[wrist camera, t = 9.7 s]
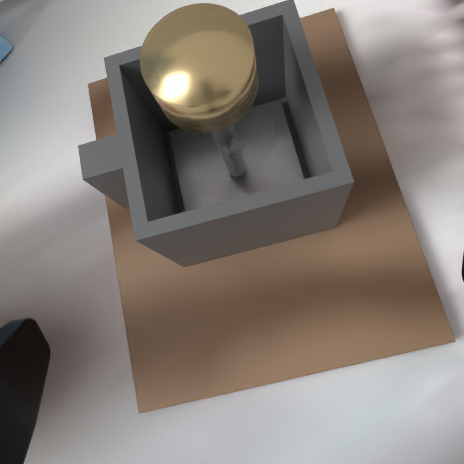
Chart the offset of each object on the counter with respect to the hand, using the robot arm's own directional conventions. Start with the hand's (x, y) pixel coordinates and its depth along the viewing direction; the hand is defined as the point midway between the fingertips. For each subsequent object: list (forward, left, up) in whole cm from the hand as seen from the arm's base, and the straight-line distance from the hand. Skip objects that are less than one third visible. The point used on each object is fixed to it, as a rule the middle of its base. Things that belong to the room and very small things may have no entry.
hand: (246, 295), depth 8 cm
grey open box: (+8, 0, -13) cm, 15 cm away
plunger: (+8, 0, -12) cm, 14 cm away
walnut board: (+7, 0, -13) cm, 15 cm away
